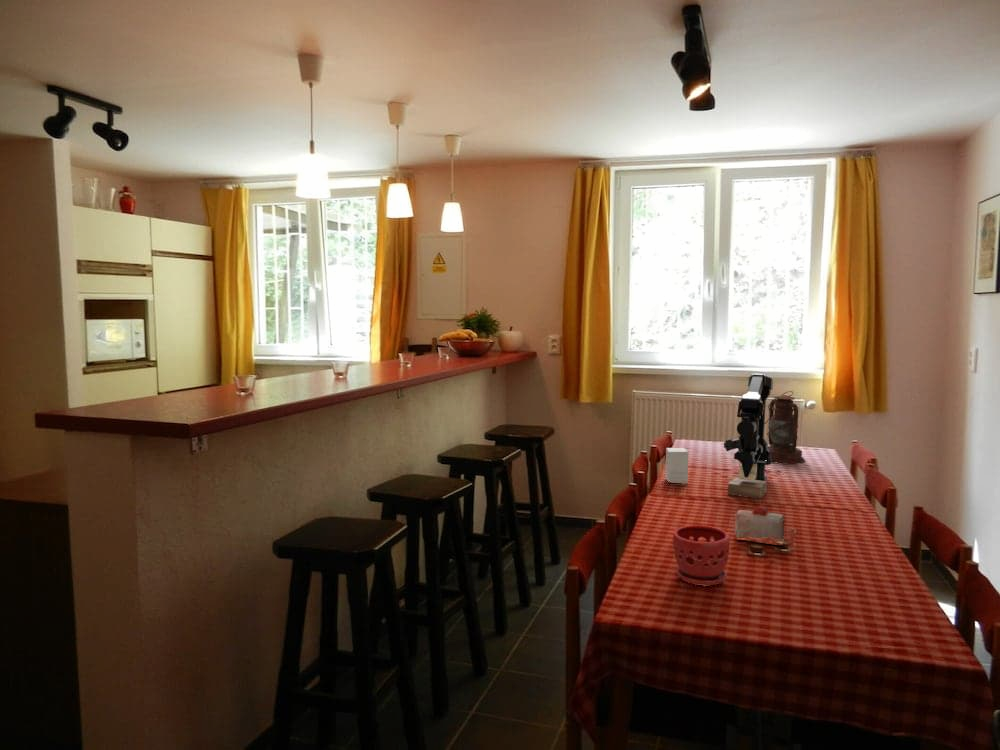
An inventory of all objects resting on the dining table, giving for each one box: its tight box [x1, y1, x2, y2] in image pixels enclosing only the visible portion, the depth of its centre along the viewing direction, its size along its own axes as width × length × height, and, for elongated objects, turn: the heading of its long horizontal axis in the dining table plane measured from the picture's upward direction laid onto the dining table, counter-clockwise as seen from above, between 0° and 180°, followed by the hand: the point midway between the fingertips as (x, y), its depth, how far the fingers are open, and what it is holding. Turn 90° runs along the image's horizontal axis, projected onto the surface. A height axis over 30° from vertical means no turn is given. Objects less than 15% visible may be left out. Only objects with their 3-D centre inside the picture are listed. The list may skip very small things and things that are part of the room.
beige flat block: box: [727, 476, 768, 500], centre depth 246 cm, size 11×11×4 cm
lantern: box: [765, 390, 806, 465], centre depth 301 cm, size 19×19×30 cm
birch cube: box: [738, 464, 757, 481], centre depth 246 cm, size 5×5×5 cm
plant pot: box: [672, 524, 730, 585], centre depth 168 cm, size 13×13×12 cm
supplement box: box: [665, 447, 689, 483], centre depth 262 cm, size 7×7×13 cm
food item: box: [734, 505, 786, 539], centre depth 196 cm, size 14×8×10 cm, turn 65°
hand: (747, 475), depth 246 cm, fingers closed on birch cube, 5 cm apart
